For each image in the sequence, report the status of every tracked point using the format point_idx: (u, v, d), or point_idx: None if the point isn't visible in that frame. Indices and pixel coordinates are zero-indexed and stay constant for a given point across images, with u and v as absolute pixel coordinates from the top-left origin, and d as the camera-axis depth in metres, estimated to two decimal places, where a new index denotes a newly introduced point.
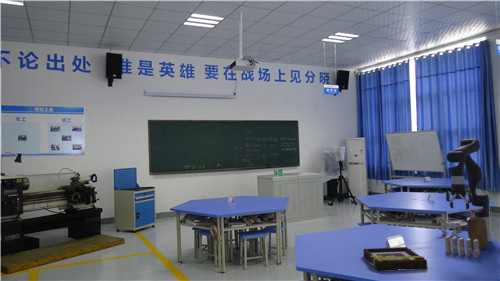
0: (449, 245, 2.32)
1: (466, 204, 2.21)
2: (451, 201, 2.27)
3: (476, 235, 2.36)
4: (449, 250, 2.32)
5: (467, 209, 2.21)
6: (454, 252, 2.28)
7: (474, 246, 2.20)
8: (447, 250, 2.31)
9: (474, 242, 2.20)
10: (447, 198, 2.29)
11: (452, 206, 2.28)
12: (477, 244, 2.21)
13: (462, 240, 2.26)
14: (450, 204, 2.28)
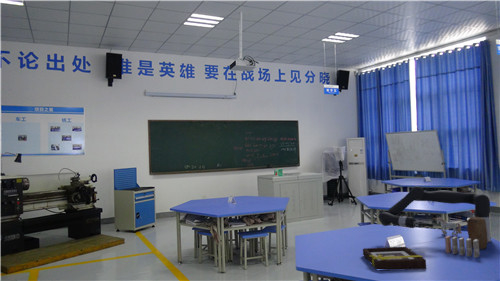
0: (449, 245, 2.32)
1: (427, 226, 2.42)
2: None
3: (476, 235, 2.36)
4: (449, 250, 2.32)
5: (432, 226, 2.39)
6: (454, 252, 2.28)
7: (474, 246, 2.20)
8: (447, 250, 2.31)
9: (474, 242, 2.20)
10: None
11: None
12: (477, 244, 2.21)
13: (462, 240, 2.26)
14: None
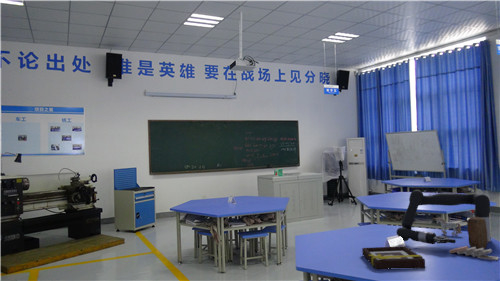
0: None
1: (449, 242, 2.32)
2: None
3: (476, 235, 2.36)
4: None
5: None
6: (459, 253, 2.26)
7: (490, 259, 2.14)
8: (452, 251, 2.29)
9: None
10: None
11: None
12: None
13: (481, 251, 2.19)
14: None
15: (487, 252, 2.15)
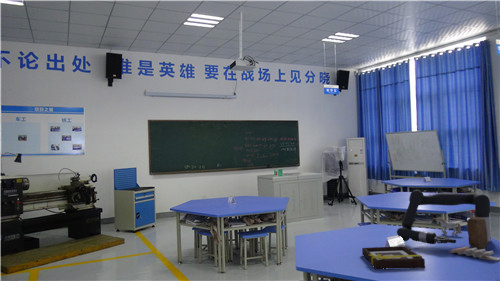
0: None
1: (450, 242, 2.32)
2: None
3: (476, 235, 2.36)
4: None
5: None
6: (459, 253, 2.26)
7: (491, 259, 2.13)
8: (452, 251, 2.29)
9: (496, 260, 2.11)
10: None
11: None
12: None
13: (481, 253, 2.17)
14: None
15: (487, 254, 2.12)
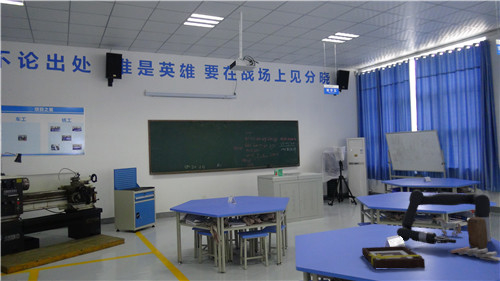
0: (459, 251, 2.28)
1: (450, 242, 2.32)
2: None
3: (476, 235, 2.36)
4: (454, 252, 2.30)
5: None
6: (460, 253, 2.26)
7: (492, 259, 2.13)
8: (453, 252, 2.29)
9: (497, 260, 2.11)
10: None
11: None
12: None
13: None
14: None
15: (490, 255, 2.11)
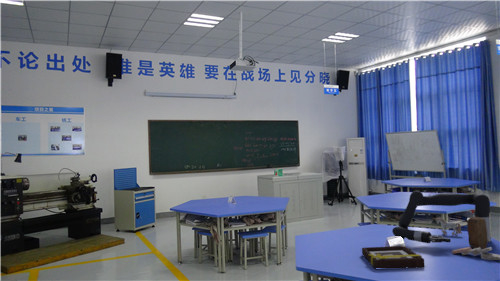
0: (461, 251, 2.27)
1: (444, 241, 2.34)
2: None
3: (476, 235, 2.36)
4: (455, 252, 2.29)
5: None
6: (463, 254, 2.24)
7: (494, 259, 2.13)
8: (454, 252, 2.28)
9: None
10: None
11: None
12: None
13: (489, 250, 2.16)
14: None
15: (497, 258, 2.11)
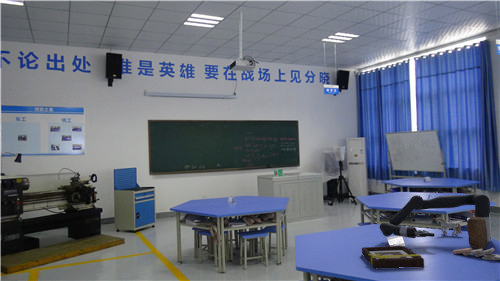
0: None
1: (429, 236, 2.42)
2: None
3: (476, 235, 2.36)
4: None
5: (433, 236, 2.39)
6: (465, 254, 2.24)
7: None
8: (455, 252, 2.28)
9: None
10: None
11: None
12: None
13: (491, 252, 2.15)
14: None
15: None
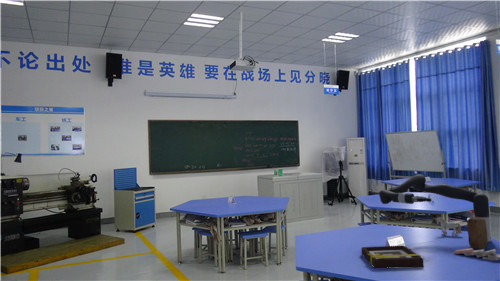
0: (463, 252, 2.27)
1: None
2: (424, 201, 2.52)
3: (476, 235, 2.36)
4: None
5: (430, 201, 2.48)
6: (466, 254, 2.23)
7: (495, 259, 2.12)
8: (456, 252, 2.28)
9: None
10: None
11: None
12: None
13: None
14: (428, 200, 2.51)
15: None
